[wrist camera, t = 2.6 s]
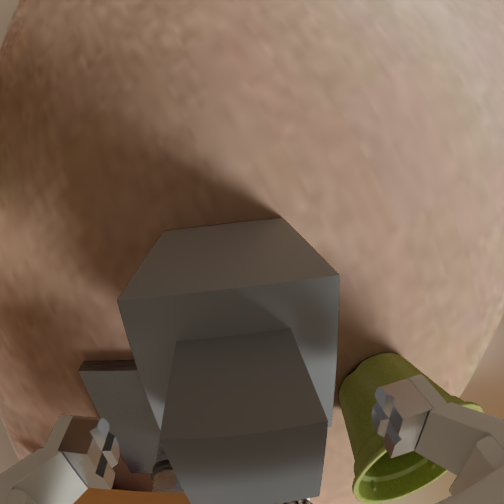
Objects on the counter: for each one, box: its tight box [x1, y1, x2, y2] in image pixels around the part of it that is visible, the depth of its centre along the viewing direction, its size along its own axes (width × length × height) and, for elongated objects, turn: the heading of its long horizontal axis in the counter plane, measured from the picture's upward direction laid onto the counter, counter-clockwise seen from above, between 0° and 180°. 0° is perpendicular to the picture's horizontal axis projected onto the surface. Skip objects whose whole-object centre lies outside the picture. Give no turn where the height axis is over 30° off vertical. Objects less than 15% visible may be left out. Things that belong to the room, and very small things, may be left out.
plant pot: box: [339, 353, 483, 503], centre depth 18 cm, size 9×9×9 cm
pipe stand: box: [78, 360, 185, 493], centre depth 15 cm, size 12×12×14 cm
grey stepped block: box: [117, 218, 339, 504], centre depth 12 cm, size 7×7×13 cm
